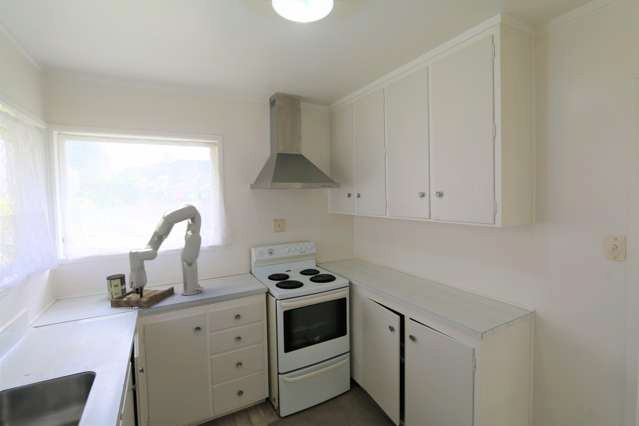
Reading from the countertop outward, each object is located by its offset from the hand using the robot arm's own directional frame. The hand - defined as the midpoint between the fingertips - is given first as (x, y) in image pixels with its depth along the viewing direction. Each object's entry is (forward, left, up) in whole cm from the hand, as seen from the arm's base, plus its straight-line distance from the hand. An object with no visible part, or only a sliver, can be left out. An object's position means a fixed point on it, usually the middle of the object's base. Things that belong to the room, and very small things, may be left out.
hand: (140, 297), depth 184 cm
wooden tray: (0, -4, -3) cm, 5 cm away
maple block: (0, +5, -1) cm, 5 cm away
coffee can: (+23, -7, -3) cm, 24 cm away
